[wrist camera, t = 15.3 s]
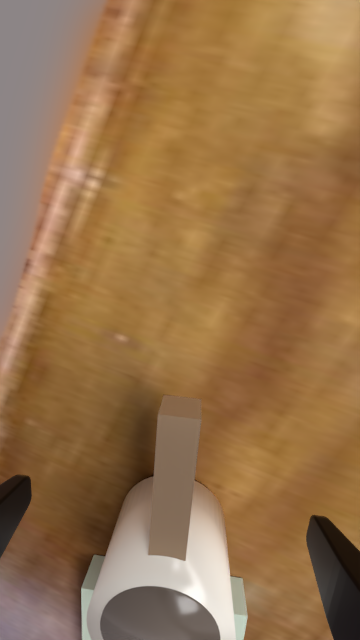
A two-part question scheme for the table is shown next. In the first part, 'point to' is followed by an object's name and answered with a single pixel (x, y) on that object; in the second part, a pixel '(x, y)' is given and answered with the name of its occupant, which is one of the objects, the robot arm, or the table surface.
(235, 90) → the table surface
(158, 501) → the saucepan
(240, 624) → the u-shaped frame
